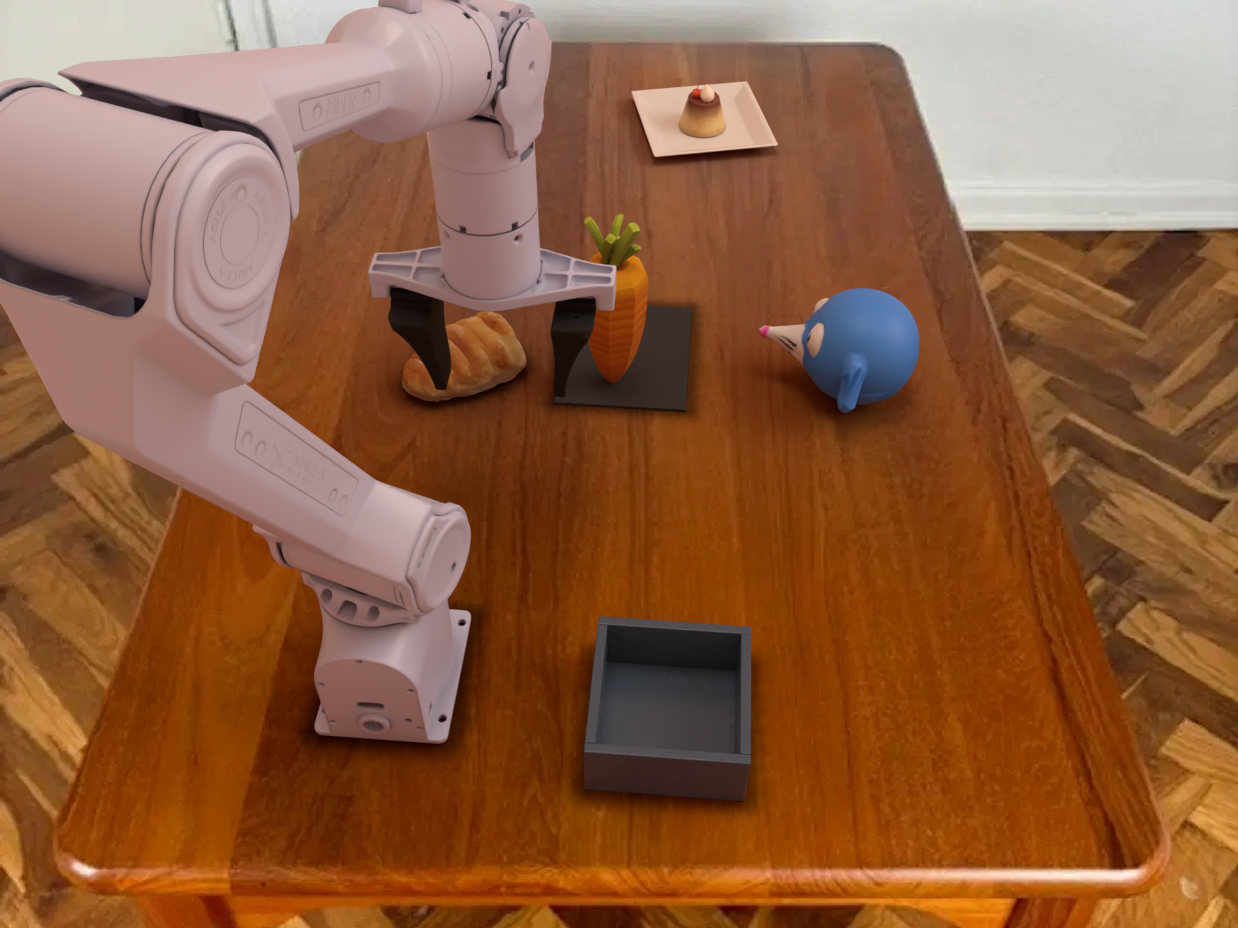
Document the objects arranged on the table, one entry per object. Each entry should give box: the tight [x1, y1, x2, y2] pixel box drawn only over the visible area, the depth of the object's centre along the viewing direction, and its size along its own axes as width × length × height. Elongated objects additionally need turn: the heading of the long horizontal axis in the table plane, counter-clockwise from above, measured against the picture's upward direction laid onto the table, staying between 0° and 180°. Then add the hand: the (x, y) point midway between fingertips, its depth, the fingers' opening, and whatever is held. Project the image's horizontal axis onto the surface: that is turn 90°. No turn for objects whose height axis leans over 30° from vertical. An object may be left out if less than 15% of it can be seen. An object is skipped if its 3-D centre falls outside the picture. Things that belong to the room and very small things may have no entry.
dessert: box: [631, 80, 779, 158], centre depth 116 cm, size 12×12×5 cm
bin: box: [583, 615, 752, 802], centre depth 70 cm, size 9×9×4 cm
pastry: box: [401, 311, 527, 403], centre depth 92 cm, size 9×7×4 cm
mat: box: [553, 305, 693, 412], centre depth 94 cm, size 12×10×1 cm
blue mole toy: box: [758, 287, 920, 414], centre depth 89 cm, size 12×12×8 cm
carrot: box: [583, 213, 650, 383], centre depth 87 cm, size 5×5×15 cm
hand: (502, 383), depth 77 cm, fingers open, 7 cm apart
